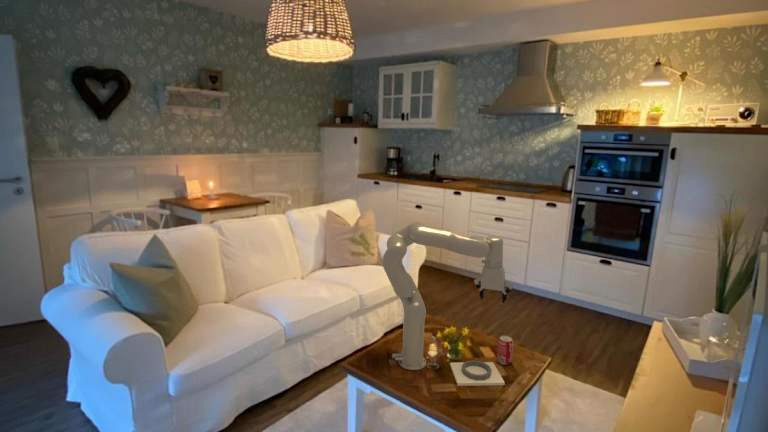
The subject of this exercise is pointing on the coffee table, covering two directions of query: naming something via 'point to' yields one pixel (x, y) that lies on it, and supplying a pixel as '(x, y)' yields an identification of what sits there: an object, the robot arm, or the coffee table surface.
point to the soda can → (505, 350)
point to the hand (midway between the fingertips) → (492, 300)
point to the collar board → (476, 373)
